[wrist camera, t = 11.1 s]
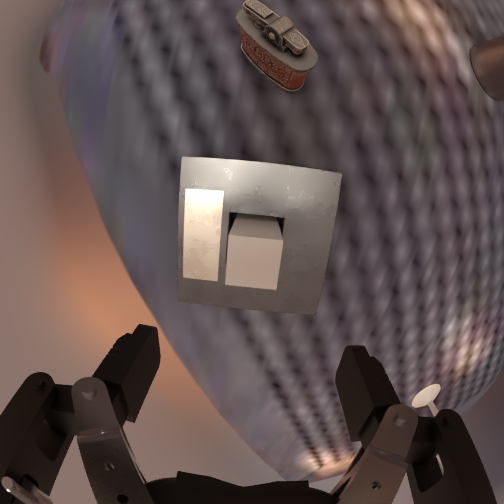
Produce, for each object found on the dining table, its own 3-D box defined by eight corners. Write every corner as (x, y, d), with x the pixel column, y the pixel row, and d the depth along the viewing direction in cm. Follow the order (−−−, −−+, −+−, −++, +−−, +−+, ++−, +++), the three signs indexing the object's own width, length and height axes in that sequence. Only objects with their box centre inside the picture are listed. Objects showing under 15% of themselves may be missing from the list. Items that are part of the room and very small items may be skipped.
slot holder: (333, 172, 27) (342, 173, 24) (311, 301, 31) (316, 315, 28) (189, 157, 26) (181, 156, 23) (184, 288, 31) (177, 301, 28)
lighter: (310, 81, 24) (335, 45, 14) (287, 99, 24) (301, 68, 15) (257, 33, 22) (256, -16, 12) (234, 50, 23) (222, 4, 13)
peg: (276, 216, 28) (283, 240, 20) (271, 252, 30) (276, 289, 21) (237, 212, 28) (228, 235, 20) (234, 249, 30) (225, 284, 21)
